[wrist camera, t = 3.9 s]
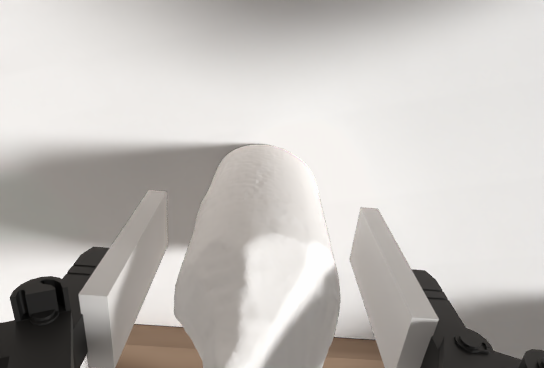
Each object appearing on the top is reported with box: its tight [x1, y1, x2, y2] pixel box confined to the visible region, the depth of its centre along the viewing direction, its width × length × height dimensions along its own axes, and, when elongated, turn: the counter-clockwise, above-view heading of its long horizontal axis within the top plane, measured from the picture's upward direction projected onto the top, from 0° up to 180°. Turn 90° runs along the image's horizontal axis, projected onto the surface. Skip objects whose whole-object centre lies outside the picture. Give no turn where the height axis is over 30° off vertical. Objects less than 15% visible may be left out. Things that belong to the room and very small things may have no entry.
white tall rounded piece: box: [174, 144, 340, 368], centre depth 14 cm, size 6×12×6 cm
